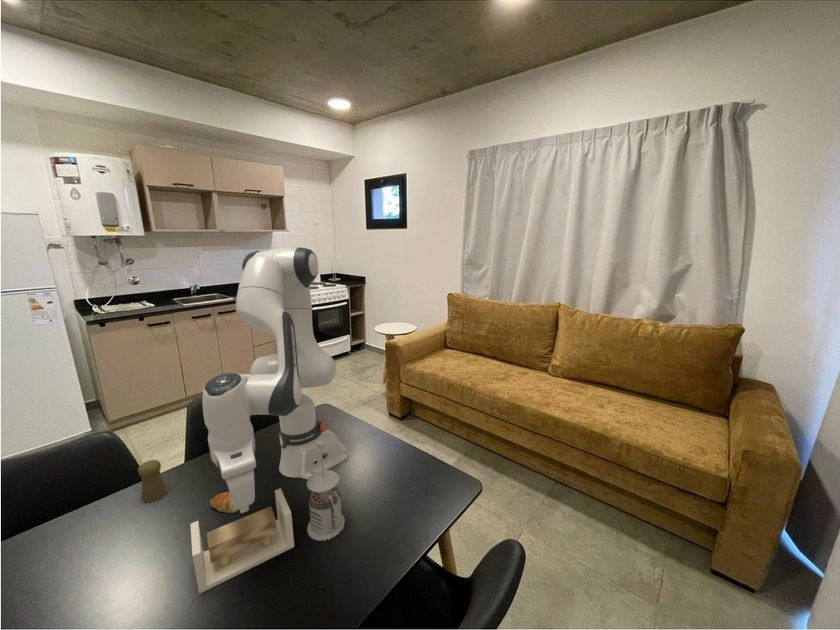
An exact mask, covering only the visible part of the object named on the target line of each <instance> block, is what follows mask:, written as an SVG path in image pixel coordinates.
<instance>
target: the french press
mask: <svg viewBox="0 0 840 630" xmlns="http://www.w3.org/2000/svg"><path fill="white" fill-rule="evenodd" d="M324 446H325V443H324V441H319V442H318V443H317V447H318V448H321V461H322V447H324ZM339 481H340V476H339V474H338V473H337V471H335V470H331V469H328V470H323V461H322V471H319V472H316V473H314V474H313V475H312V476H310V478H309V479H307V481H306V487H307V489H308V490H310V491H311V492H310V495H309V501H308V507H309V508H308V509H309V517H310V519H309V522H308V524H307V528H306V531H307V534H308V536H309V537H310V538H311V539H313V540H314V541H315V540H316V541H319V542H322V540H323V541H328V540H331V539H333V538H335V537H336V535H339V534H340V533H341V532H342V531H343V530H344V527H345V525H344V523H346V522H345V521H346V518H345V517H344V515H343V514H342V505H341V499H340V498H341V496H340V493H339V489H338V487H337V484H338V483H339ZM341 530H342V531H341ZM340 531H341V532H340ZM339 532H340V533H339ZM334 536H335V537H334ZM332 537H333V538H332ZM330 538H331V539H330ZM327 539H328V540H327Z"/></svg>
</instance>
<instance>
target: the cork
mask: <svg viewBox="0 0 840 630" xmlns="http://www.w3.org/2000/svg"><path fill="white" fill-rule="evenodd" d="M161 466H162V464H161V462H160V461H159V459H158V460H157V459H151V460H147V461H144V462H143V463H142V464H140V465H139V467H138V469H137V473H138V475H139V477H140V478H141V502H142V501H143V502H144V503H143V502H142V503H143V504H146V503H149V504H153V503H156V502H159V501H160V500H162V499H163V498H164V497H166V496H167V494H168V489H167V486H166V484H165V481H164V479H163V476H162V473H161ZM155 501H156V502H155ZM152 502H153V503H152Z"/></svg>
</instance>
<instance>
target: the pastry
mask: <svg viewBox="0 0 840 630" xmlns="http://www.w3.org/2000/svg"><path fill="white" fill-rule="evenodd" d="M209 504H210V505H209V506H210V507H212V508H213V509H215V510H217V511H218V512H222V513H227V514H235V513H237V512H238V511H240V509H236V508H235V506H234V504H233V501H232V498H231V495H230V492H229V491H224V492H221V493H218V494H216V495H215V496H214V497H212V498H211V499H210V500H209Z"/></svg>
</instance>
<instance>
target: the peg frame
mask: <svg viewBox="0 0 840 630" xmlns="http://www.w3.org/2000/svg"><path fill="white" fill-rule="evenodd" d="M274 494H275V495H274V496H275V505H276V514H277V518H276V527H277V533H276V534H273V535H271V536H269V537H267V538H265V539H263V540H260V541H258V542H256V543H254V544H252V545H250V546H247V547H245V548H243V549H241V550H239V551H237V552H234V553H232V554H230V555H228V556H226V557H223V558H221V559H219V560H217V561H215V562H213V563H211V560H210V554H209V549H208V550H205V551H204V547H203V540H202V536H201V535H202V534H201V530H200V525H199V523H200V522H199V520H196V521H193V522H192V523H190V538H191V551H192V552H191V554H192V555H191V557H192V561H193V568H194V573H195V578H196V584H197V589H198V594H199V595H200V594H202V593H204V592H206V591H208V590H210V589H212V588H213V587H217V586H218V585H220V584H223V583H224V582H226V581H228V580H230V579H232V578H234V577H236V576H238V575H240V574H242V573H244V572H246V571H248V570H250V569H252V568H254V567H256V566H258V565H261V564H262V563H264V562H267V561H268V560H270V559H273V558H274V557H276V556H279V555H280V554H283V553H285V552H286V551H288V550H290V549H293V548H294V547H295V539H294V528H293V518H292V511H291V509H290V506H289V504H288V502H287V499H286V497H285V495H284V493H283V490H282V488H281V487H280V488H277V489H275V490H274Z"/></svg>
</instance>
